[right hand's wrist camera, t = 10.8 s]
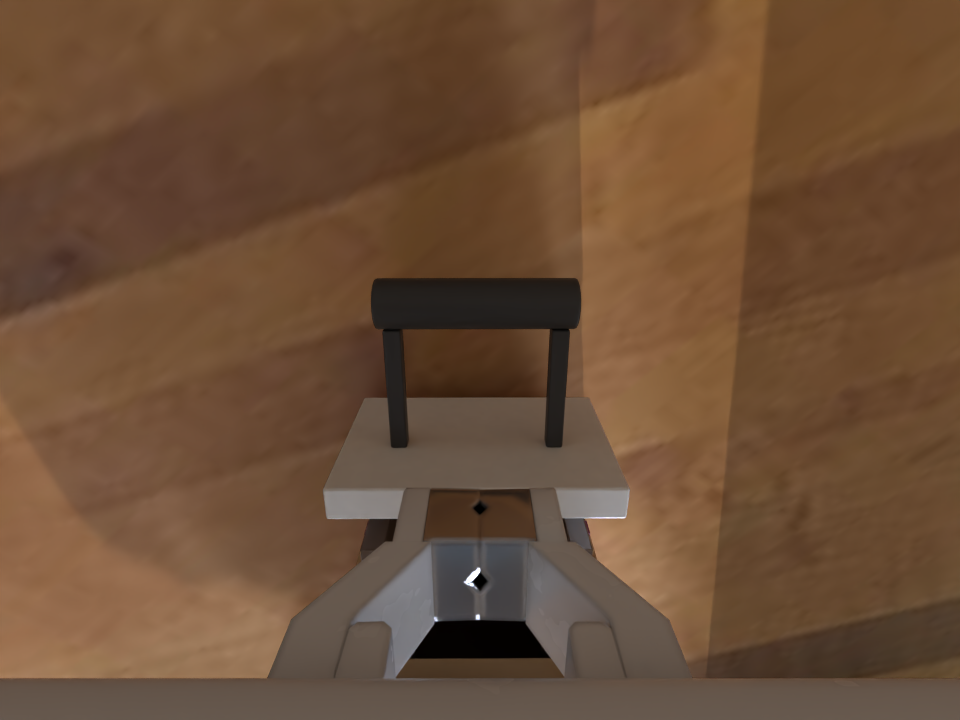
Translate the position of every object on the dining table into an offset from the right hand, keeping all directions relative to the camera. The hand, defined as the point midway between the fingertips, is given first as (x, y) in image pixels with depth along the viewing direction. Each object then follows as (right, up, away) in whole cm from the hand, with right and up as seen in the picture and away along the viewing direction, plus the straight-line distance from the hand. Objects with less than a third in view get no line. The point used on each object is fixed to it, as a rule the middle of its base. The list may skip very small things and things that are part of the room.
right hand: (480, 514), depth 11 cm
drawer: (0, -3, +14) cm, 14 cm away
